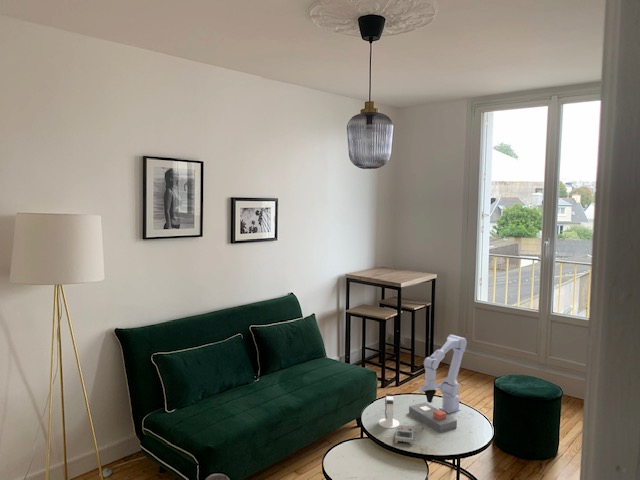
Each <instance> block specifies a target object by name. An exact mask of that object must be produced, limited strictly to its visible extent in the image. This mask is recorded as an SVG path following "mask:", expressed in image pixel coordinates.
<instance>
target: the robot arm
mask: <svg viewBox="0 0 640 480" xmlns="http://www.w3.org/2000/svg"><path fill="white" fill-rule="evenodd" d="M467 343H468V341H467V339H466V338H465V337H461V336H458V335H455V334H449V335H448V336H447V337H446V341H445V343H444V344H443V345H442V346H441V348H440V349H436V350H435V351H434V352H433V353H432V354H431V355H430V356H427V357H425V359H424V360H423V366H424V370H425V376H424V377H425V378H424V384H423V386H420V387H418V392H419V393H423V392H424V394H425V396H426V403H428V404H431V403H432V402H433V398H434V396H435V395H436V393H437V390H436V389H439V391H440V392H441V395H442V403H441V404H442V406H439V407H438V408H439V410H442V411H443V412H445V413H446V414H451V413H454V412H455V413H456V412H458V411H461V409H460V396H459V392H460V384H459V383H458V380H457V378H458V374H459V372H460V367H461V363H462V359H463V356H464V353H465V352H466V349H467V346H468V345H467ZM451 349H452V350H453V355H452V358H451V362H450V366H449V370H448V373H447V377H445V378H443V379H442V381H441V383H436V380H437V379H436V375H437V369H438V367H439V365H440V362H441V361H443V359H444V358H445V356H446V355H445V354H447V353H448V352H449V351H450V350H451Z"/></svg>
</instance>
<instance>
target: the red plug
mask: <svg viewBox="0 0 640 480" xmlns="http://www.w3.org/2000/svg"><path fill="white" fill-rule="evenodd" d="M446 415H447V412H445V411H443V410H442V409H438V410H437V411H434V415H433V417H434V418H436V419H438V420H443V419H446Z"/></svg>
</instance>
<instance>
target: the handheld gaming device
mask: <svg viewBox="0 0 640 480" xmlns="http://www.w3.org/2000/svg"><path fill="white" fill-rule="evenodd" d="M414 433H415V426H414V425H413V426H412V425H403V424H402V425H401V424H400V425H399V426H398V427H396V431H395V436H394V442H395V444H398V443H399V442H402V441H403V442H404V443H409V445H411V446H413V444H414Z"/></svg>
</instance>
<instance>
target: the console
mask: <svg viewBox="0 0 640 480" xmlns="http://www.w3.org/2000/svg"><path fill="white" fill-rule="evenodd" d="M424 406H427V407H428V408H430V409H431V410H430V411H426V412H424V411H423V410H421V409H419V408H420V407H424ZM437 410H439V409H437V408H435V407H434V406H432V405H431V404H430V403H428V402H421V403H417V404H414V405H409V407H408V414H410V415H411V416H412V417H414V418H417V419H418V420H419V421H421V422H423V423H425V424H426V425H427V426H429V427H431V428H432V429H434V430H435V431H437V432H438V433H442V432H445V431H449V430H453V429H455V428H457V425H458V424H457V423H458V420H457V419H455V418H453V417H452V416H450V415H448V414H446V419H443V420H438V419H436V418H434V417H433V415H434V411H437Z"/></svg>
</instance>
